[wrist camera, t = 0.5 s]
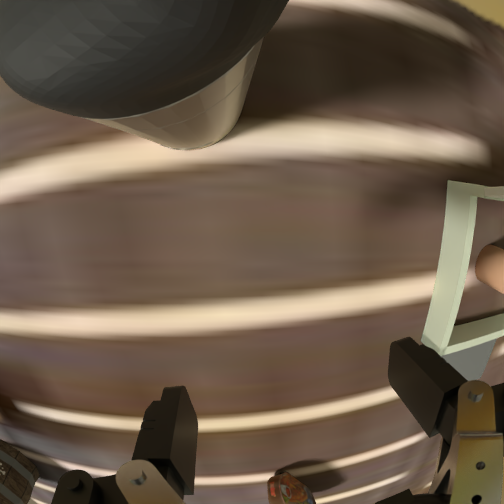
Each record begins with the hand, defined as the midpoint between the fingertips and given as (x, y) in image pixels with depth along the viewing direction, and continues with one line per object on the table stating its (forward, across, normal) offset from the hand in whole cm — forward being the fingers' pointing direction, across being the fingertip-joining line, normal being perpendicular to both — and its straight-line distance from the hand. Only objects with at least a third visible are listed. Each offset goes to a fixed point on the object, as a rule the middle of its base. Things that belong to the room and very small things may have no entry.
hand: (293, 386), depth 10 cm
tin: (+20, 0, +41) cm, 45 cm away
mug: (+20, +62, +36) cm, 74 cm away
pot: (+18, -31, +6) cm, 36 cm away
